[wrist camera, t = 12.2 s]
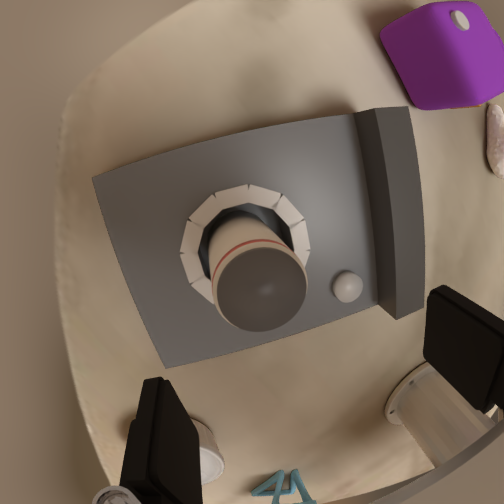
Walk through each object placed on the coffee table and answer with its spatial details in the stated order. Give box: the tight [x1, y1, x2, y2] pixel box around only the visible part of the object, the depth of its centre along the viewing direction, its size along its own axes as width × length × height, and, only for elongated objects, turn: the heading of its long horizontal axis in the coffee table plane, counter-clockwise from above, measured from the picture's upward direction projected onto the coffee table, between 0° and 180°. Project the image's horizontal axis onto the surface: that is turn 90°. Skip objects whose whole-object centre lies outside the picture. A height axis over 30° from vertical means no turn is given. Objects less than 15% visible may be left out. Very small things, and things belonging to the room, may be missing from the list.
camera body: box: [92, 106, 425, 369], centre depth 22 cm, size 22×16×7 cm
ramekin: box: [191, 419, 225, 485], centre depth 28 cm, size 11×11×5 cm
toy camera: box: [380, 1, 504, 110], centre depth 18 cm, size 11×14×10 cm
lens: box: [207, 211, 308, 332], centre depth 19 cm, size 5×5×9 cm
